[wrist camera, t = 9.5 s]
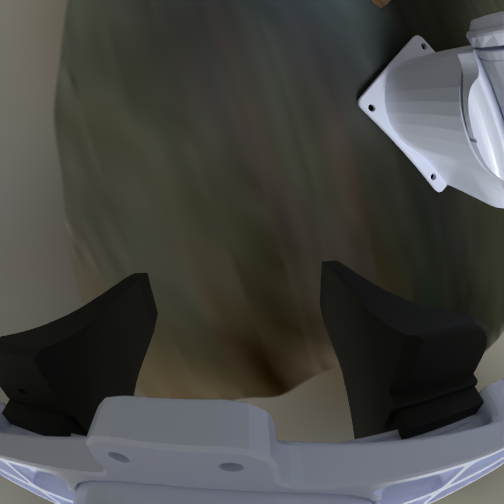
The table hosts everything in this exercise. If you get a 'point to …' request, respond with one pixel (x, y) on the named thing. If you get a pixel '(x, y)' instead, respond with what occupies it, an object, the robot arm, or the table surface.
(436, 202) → the table surface
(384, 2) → the brown peg board
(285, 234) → the table surface
